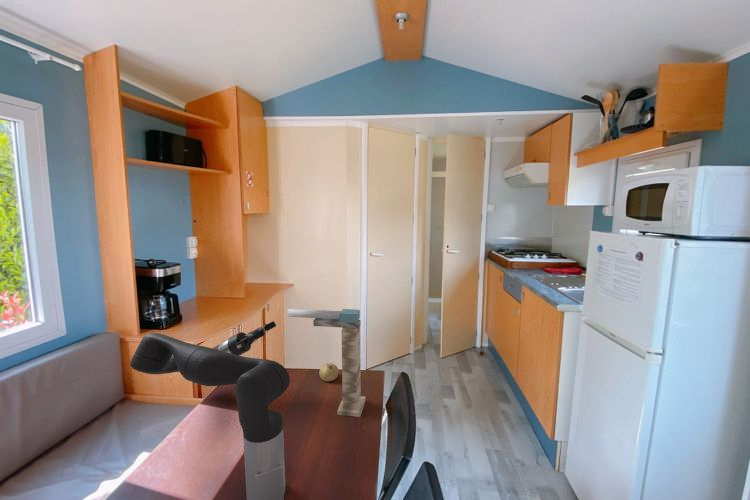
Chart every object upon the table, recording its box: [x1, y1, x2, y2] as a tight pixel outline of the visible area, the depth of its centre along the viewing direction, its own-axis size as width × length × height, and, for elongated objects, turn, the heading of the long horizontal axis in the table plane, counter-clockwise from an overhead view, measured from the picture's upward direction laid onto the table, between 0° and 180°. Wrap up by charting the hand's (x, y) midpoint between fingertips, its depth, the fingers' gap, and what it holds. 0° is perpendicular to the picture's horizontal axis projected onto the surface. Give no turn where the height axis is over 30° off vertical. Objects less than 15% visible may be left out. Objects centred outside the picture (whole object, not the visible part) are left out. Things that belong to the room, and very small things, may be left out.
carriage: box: [286, 308, 361, 323], centre depth 117 cm, size 25×5×3 cm, turn 81°
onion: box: [318, 362, 339, 382], centre depth 139 cm, size 8×8×7 cm
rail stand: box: [312, 318, 366, 418], centre depth 118 cm, size 17×10×32 cm, turn 81°
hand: (269, 327), depth 120 cm, fingers open, 8 cm apart
